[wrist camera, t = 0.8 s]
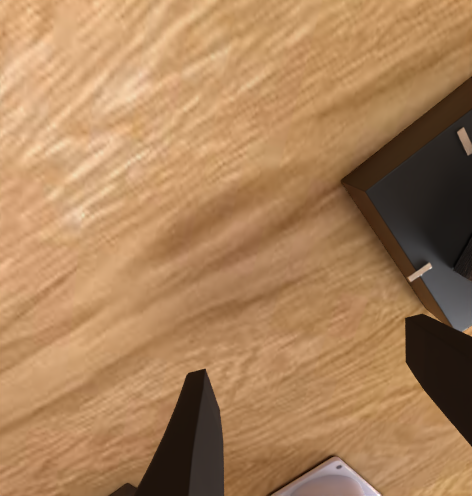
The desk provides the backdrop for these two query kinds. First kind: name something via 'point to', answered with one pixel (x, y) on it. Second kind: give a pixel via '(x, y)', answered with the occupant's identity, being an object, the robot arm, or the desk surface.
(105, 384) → the desk surface
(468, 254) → the tap handle
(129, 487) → the button block
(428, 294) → the panel
